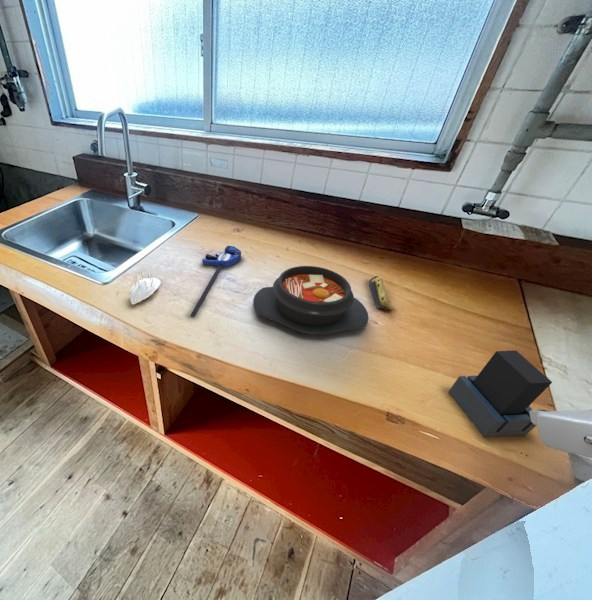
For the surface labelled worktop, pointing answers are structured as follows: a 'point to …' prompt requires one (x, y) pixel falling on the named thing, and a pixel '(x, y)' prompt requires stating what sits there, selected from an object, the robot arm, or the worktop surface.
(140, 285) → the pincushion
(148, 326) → the worktop surface
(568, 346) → the worktop surface
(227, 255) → the bar clamp
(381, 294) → the yellow-green lumpy piece
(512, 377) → the back pad
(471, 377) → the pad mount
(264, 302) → the casserole
